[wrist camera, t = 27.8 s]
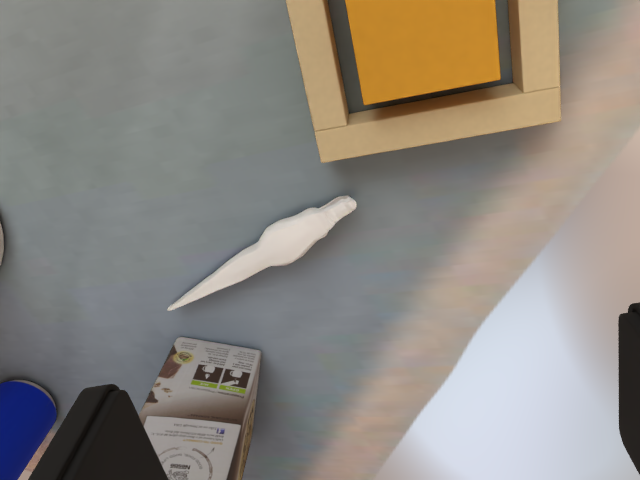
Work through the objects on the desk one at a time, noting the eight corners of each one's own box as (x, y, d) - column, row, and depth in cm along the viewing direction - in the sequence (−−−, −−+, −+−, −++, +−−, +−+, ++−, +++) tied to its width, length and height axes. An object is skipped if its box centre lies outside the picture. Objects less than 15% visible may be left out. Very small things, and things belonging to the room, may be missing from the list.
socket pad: (324, 149, 34) (321, 163, 32) (272, -94, 29) (264, -97, 27) (548, 109, 32) (561, 121, 30) (538, -160, 27) (553, -169, 25)
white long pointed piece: (344, 175, 35) (342, 187, 33) (368, 209, 36) (367, 223, 34) (158, 288, 40) (149, 304, 38) (183, 316, 41) (175, 332, 39)
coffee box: (173, 333, 41) (68, 543, 27) (264, 348, 41) (207, 566, 27) (170, 428, 46) (78, 653, 31) (253, 441, 46) (198, 673, 31)
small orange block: (364, 87, 33) (363, 105, 29) (341, -43, 30) (338, -40, 26) (486, 63, 31) (501, 79, 28) (474, -73, 29) (489, -75, 25)
